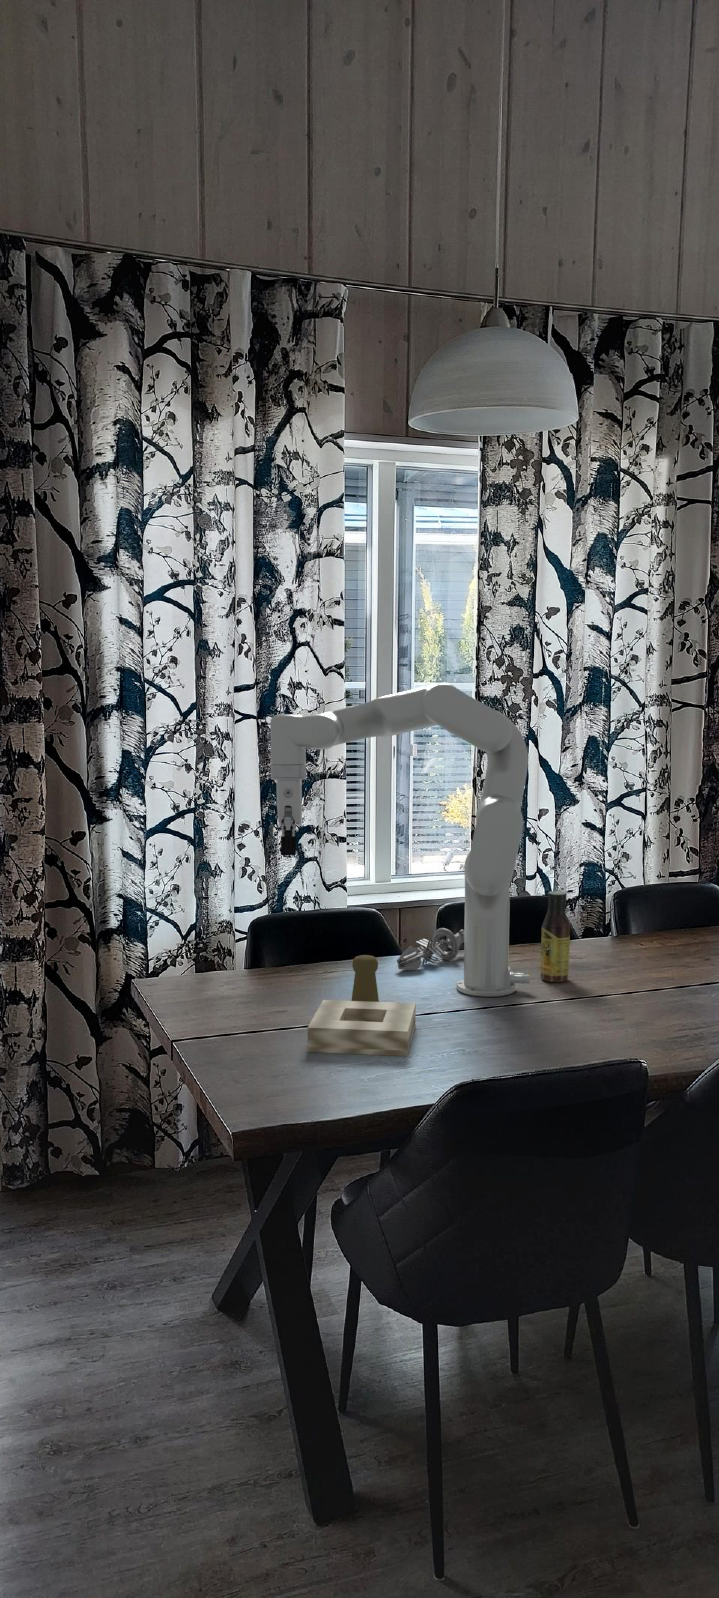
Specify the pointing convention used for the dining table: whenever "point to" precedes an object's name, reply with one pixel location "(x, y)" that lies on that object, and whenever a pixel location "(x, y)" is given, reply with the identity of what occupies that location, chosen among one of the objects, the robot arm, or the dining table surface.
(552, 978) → the sauce bottle
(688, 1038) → the dining table surface
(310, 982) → the dining table surface
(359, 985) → the cork
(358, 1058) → the dining table surface
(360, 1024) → the socket block
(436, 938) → the spaceship
